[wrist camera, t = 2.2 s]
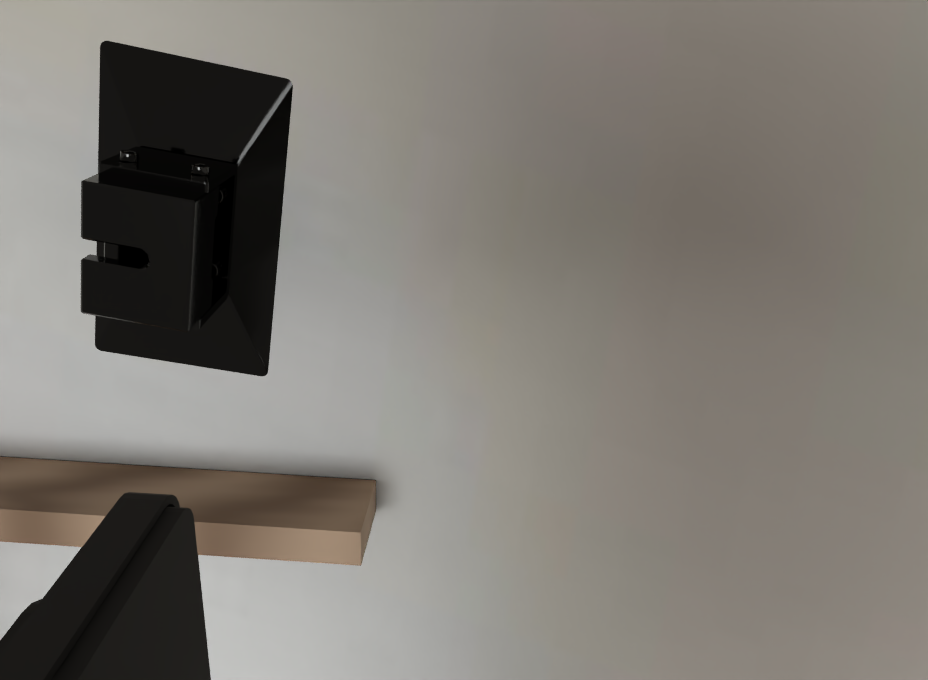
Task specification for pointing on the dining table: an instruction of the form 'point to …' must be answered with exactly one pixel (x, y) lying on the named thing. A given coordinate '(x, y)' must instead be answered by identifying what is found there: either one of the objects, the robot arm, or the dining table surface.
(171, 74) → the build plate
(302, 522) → the track
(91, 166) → the dining table surface
